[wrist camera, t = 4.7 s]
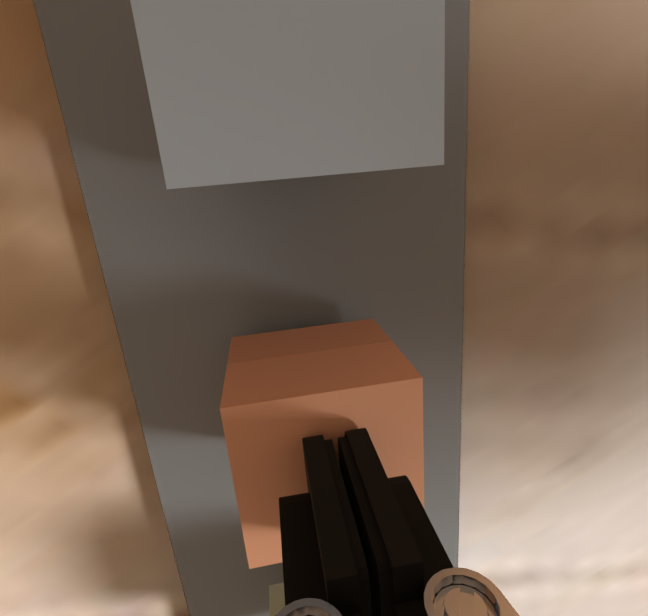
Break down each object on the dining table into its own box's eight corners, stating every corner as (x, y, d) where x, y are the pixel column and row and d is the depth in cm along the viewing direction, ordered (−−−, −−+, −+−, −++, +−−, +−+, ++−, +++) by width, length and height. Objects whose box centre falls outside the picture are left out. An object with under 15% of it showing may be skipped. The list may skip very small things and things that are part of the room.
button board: (453, -39, 14) (512, -106, 11) (447, 580, 22) (478, 646, 19) (42, -29, 12) (-34, -103, 9) (203, 633, 21) (194, 715, 18)
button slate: (366, -34, 11) (445, -191, 6) (375, 170, 12) (443, 164, 8) (165, -29, 10) (92, -198, 6) (201, 186, 11) (166, 189, 7)
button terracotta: (372, 318, 15) (422, 377, 10) (378, 437, 16) (424, 533, 12) (231, 337, 14) (219, 408, 10) (251, 459, 16) (249, 569, 11)
